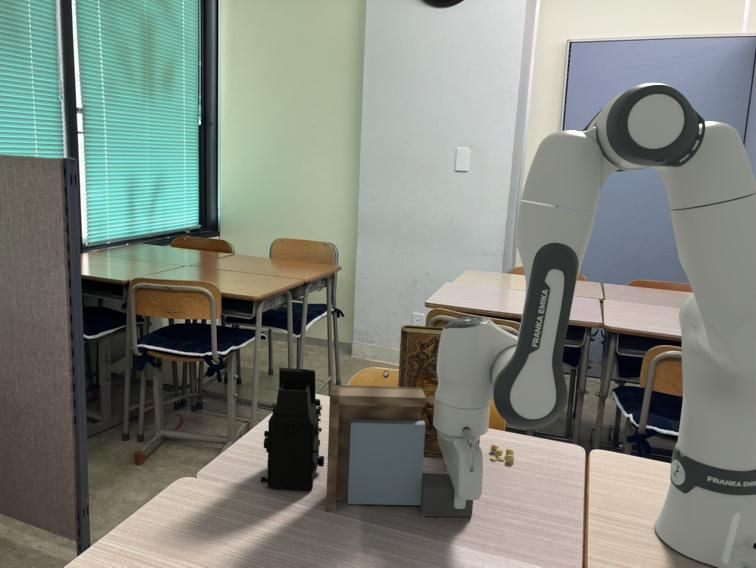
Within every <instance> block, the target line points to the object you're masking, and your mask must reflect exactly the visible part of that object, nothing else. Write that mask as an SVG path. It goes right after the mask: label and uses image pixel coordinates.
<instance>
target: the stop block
mask: <svg viewBox="0 0 756 568" xmlns="http://www.w3.org/2000/svg"><path fill="white" fill-rule="evenodd" d="M454 492H455V490H454V487H453V484H452V481H451V478H450V476H449V474H447V473H430V472H429V473H427V472H422V488H421V505H419V507H420V509H421V510H420V511H421V514H422V516H423V517H424V516H425V517H465V518H466V517H469V518H470V517H473V508H474V500H466V506H465V508H464V509H456V508H455V507H454V504H453V494H454Z"/></svg>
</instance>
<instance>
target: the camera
mask: <svg viewBox="0 0 756 568" xmlns="http://www.w3.org/2000/svg"><path fill="white" fill-rule="evenodd" d="M278 377H279V378H278V379H279V381H278V390H277V395H276V402H274V401H273V402H272V404H271V407H273V408H272V411H271V412H272V414H271V416H270V417H269V419H268V430H264V433H263V436H264V439H263V449H265V450H266V451H265V452H266V453H267V464H266V465H267V477H265V476H261V477H260V483H261V484H264V483H266V484H267V487H268V488H269V489H280V490H295V491H296V490H300V491H311V492H312V491H313V488H314V481H315V477H316V474H317V470H318V467H322V468H323V467H324V466H325V456H324V455H320V446H321V440H320V439H319V437H320V434H321V432H322V431H323V428H321V427H320V426H319V424H320V422H321V421H322V419H321V416H322V413H321V411H322V410H323V405H322V404H321V399H320V398H316V394H317V393H316V370H315V369H307V368H306V369H305V368H290V367H279V368H278Z"/></svg>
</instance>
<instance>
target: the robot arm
mask: <svg viewBox="0 0 756 568" xmlns="http://www.w3.org/2000/svg"><path fill="white" fill-rule="evenodd" d="M647 168H652V170H654V171H655V172H657V174H658V175H659V176H660V179H661V180H662V181H663V184H664V187H665V188H666V192H667V193H666V195H667V201H668V207H669V212H670V217H671V223H672V227H673V233H674V238H675V245H676V250H677V255H678V259H679V263H680V264H681V267H682V268H683V270H684V272H685V275H686V277H687V280H688V282H689V285H690V288H691V290H692V293H691V294H690V295H688V296H687V297H686V298H685V299H684V300H683V302H682V303H681V306H680V308H679V313H678V321H679V322H678V323H679V325H680V326H679V327H680V332H681V368H682V370H681V372H682V373H681V374H682V405H681V406H682V407H681V412H680V420H679V421H680V422H679V428H678V435H677V436H678V437H677V442H676V443H675V444H674V446H673V449H672V450H673V451H672V456H671V463H670V464H671V465H670V483H669V486H668V491H667V494H666V497H665V499H664V500H665V501H664V502H663V506H662V508H661V510H660V513H659V515H658V517H657V519H656V520H655V522H654V530H655V532H656V535H658V537H659V538H660V540H661V541H663V542H664V543H665V544H666V545H668V546H669V547H670V548H672V549H673V550H675V551H677V552H678V553H680V554H682V555H684V556H686V557H688V558H690V559H692V560H695V561H697V562H700V563H704V564H706V565H710V566H713V567H716V568H756V181H755V176H754V172H753V169H752V165H751V161H750V159H749V156H748V154H747V151H746V148H745V144H744V143H743V141H742V138H741V136H740V134H739V132H738V130H737V129H736V128H735V127H734V126H731V124H729V123H724V122H720V121H705V120H704V118H703V117H702V116H701V115H700V114H699V113H698V111H696V109H694V108H693V106H692V104H691V103H690V101H689V100H688V99H687V98H686V96H685V95H684V94H683V93H682V92H680V91H679V90H678V89H676V88H675V87H672V86H671V85H668V84H665V83H660V82H659V83H658V82H647V83H642V84H639V85H636V86H633V87H631V88H629V89H627V90H625V91H623V92H621V93H620V94H618V95H616V96H615V97H613V98H612V99H610V100H609V101H608V102H607V103H606V104H605V105H604V107H603V108H601V110H600V111H598V112H597V113H596V115H594V116H593V118H592V119H591V120H590V121H589V122H588V124H587V125H586V126H585V127H584V129H583V130H582V131H578V130H573V129H571V130H570V129H567V130H565V129H564V130H560V131H555V132H553V133H550V134H549V135H547V136H546V137H545V138H543V139H542V140H541V142H540V143H539V145H538V147H537V150H536V152H535V154H534V156H533V160H532V162H531V165H530V167H529V170H528V173H527V176H526V178H525V179H526V180H525V183H524V187H523V192H522V194H521V199H520V200H521V201H520V204H519V209H518V216H517V226H516V247H517V250H518V251H517V252H518V254H519V257H520V260H521V263H522V269H523V272H524V278H525V295H524V296H525V297H524V302H523V303H524V304H523V310H522V314H521V321H520V324H519V329H518V333H517V334H518V335H514V334H513V333H510V332H508V331H506V330H505V329H503V328H501V327H500V326H498V325H497V324H496V323H494V322H493V320H492V319H491V318H489V317H486V316H483V315H482V316H478V315H468V316H462V317H458V318H454V319H452V320H450V321H449V322H448V323H446V325H445V326H444V327H443V328H444V329H443V331H442V333H441V337H440V342H439V348H438V356H437V376H438V387H437V390H436V392H435V399H434V417H433V425H434V427H435V428H436V429H437V436H438V444H439V447H440V450H441V453H442V455H443V458H444V459H443V460H444V464H445V466H446V467H445V468H446V469H445V470H446V474H449V476H450V478H451V481H452V484H453V487H454V490H455V492H454V494H453V504H454V507H455V508H456V509H464V508H465V506H466V500H473V501H477V500H480V498H481V497H482V494H483V478H484V477H483V476H484V475H483V474H484V472H483V471H484V456H483V451H482V447H481V446H480V443H479V444H478V442H477V441H478V440H479V439H480V440H481V436H483V435H485V434H487V432H488V431H489V429H490V428H489V425H490V424H489V423H490V414H491V413H490V412H491V401H492V399H493V403H494V406H495V409H496V410H497V412H498V414H499V416H500V417H501V418H502V419H504V421H505V422H507V423H508V424H510V425H512V426H514V427H515V428H516V427H517V428H520V429H524V430H535V429H541V428H544V427H546V426H549V425H551V424H552V423H554V422H556V420H558V419H559V418H560V416H561V415H562V414H563V412H564V410H565V408H566V406H567V404H568V403H567V402H568V387H567V383H566V382H567V381H566V378H565V374H564V368H563V356H564V351H565V350H564V349H565V343H566V339H567V333H568V328H569V323H570V316H571V311H572V306H573V301H574V295H575V289H576V286H577V282H578V278H579V275H580V271H581V269H582V268H581V267H582V264H583V260H584V257H585V254H586V251H587V250H588V246H589V243H590V240H591V236H592V233H593V229H594V227H595V223H596V217H597V214H596V213H598V208H599V203H600V198H601V193H602V192H603V189H604V187H605V185H606V182H607V181H608V179H609V178H610V177H611V176H612V175H613V174H614V173H616V172H627V171H638V170H639V171H641V170H643V169H647Z"/></svg>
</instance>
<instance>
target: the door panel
mask: <svg viewBox="0 0 756 568" xmlns="http://www.w3.org/2000/svg"><path fill="white" fill-rule="evenodd" d="M424 440H425V422H424V421H411V420H372V419H351V429H350V454H349V478H348V499H347V505H386V506H387V505H390V506H391V505H392V506H420V505H421V488H422V473H424V472H423V471H424V469H423V468H424V457H423V456H424Z"/></svg>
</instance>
